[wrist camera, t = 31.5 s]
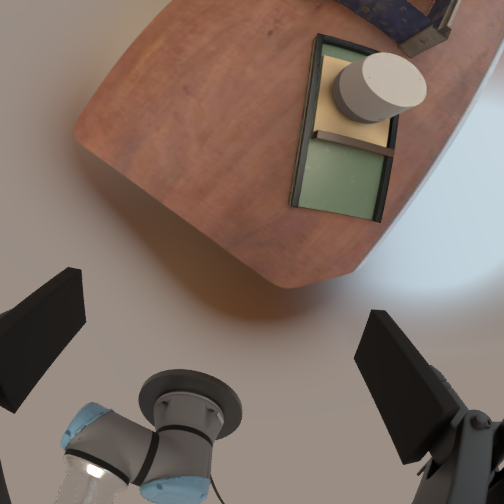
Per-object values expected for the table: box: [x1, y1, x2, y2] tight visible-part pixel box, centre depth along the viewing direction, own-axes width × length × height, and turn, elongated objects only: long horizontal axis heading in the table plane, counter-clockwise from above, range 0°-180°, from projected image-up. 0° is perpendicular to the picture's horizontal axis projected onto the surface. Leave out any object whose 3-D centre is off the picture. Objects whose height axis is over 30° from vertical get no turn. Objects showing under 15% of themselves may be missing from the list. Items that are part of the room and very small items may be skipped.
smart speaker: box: [333, 53, 427, 124], centre depth 32 cm, size 10×9×14 cm
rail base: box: [289, 33, 399, 223], centre depth 41 cm, size 28×15×2 cm, turn 171°
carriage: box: [311, 55, 394, 158], centre depth 38 cm, size 14×12×4 cm
